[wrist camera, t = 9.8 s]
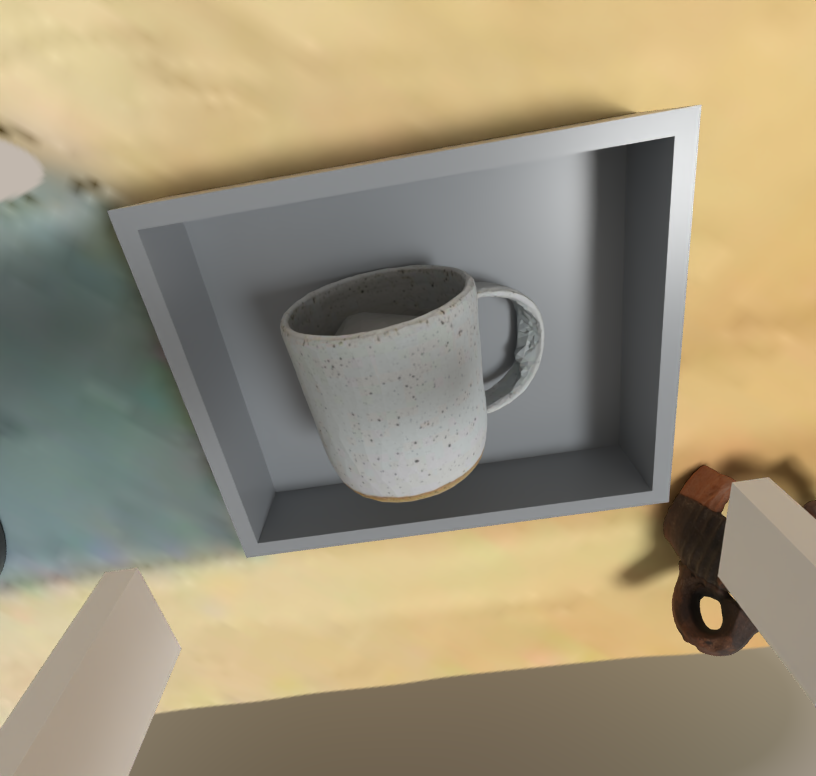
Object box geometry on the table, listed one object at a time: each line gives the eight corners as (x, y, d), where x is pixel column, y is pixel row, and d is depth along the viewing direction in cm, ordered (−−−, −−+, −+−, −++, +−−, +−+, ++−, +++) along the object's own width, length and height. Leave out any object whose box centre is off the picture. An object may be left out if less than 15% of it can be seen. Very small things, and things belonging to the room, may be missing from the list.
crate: (270, 494, 30) (246, 557, 25) (166, 196, 22) (106, 210, 18) (626, 445, 28) (668, 502, 24) (637, 112, 21) (701, 104, 17)
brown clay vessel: (723, 415, 28) (909, 502, 22) (761, 454, 34) (914, 531, 28) (602, 586, 30) (744, 713, 24) (659, 595, 36) (783, 697, 30)
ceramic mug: (343, 435, 27) (326, 537, 20) (296, 286, 23) (255, 347, 16) (543, 395, 26) (598, 487, 19) (526, 234, 22) (585, 276, 16)
